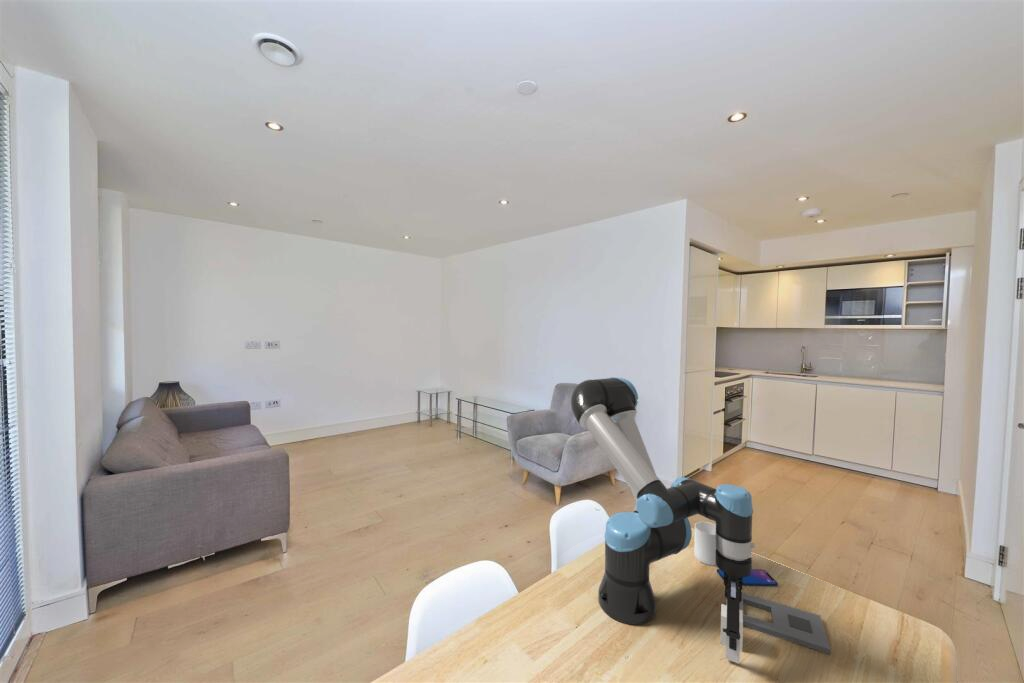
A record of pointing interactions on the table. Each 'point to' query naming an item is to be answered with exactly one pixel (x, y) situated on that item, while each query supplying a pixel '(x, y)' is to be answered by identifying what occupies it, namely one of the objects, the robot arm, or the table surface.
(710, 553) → the mug
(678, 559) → the table surface
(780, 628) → the outlet plate
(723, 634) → the charger
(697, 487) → the robot arm
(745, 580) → the smartphone
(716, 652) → the table surface
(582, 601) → the table surface
